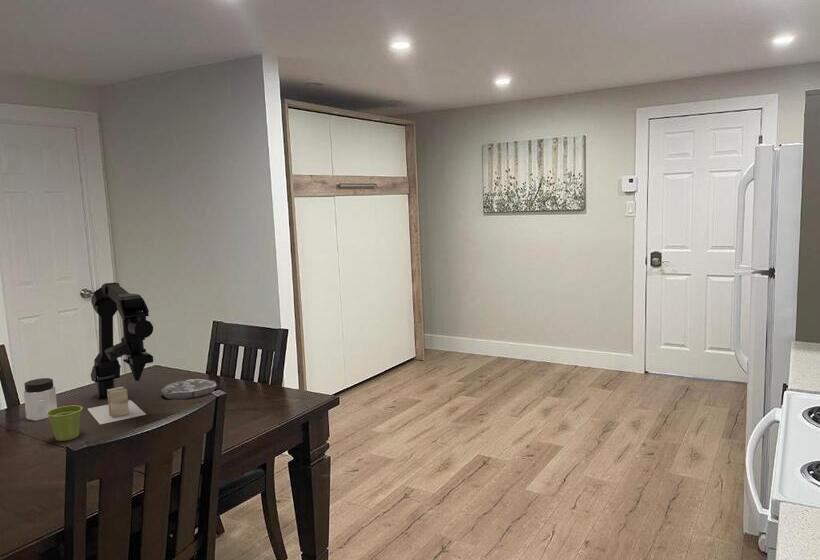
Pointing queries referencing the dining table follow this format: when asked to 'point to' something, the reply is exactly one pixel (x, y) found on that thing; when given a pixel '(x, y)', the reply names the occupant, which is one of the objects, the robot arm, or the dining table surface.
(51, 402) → the jar
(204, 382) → the brain slice
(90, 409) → the grey mat
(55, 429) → the plant pot
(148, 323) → the robot arm
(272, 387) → the dining table surface
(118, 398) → the birch block
